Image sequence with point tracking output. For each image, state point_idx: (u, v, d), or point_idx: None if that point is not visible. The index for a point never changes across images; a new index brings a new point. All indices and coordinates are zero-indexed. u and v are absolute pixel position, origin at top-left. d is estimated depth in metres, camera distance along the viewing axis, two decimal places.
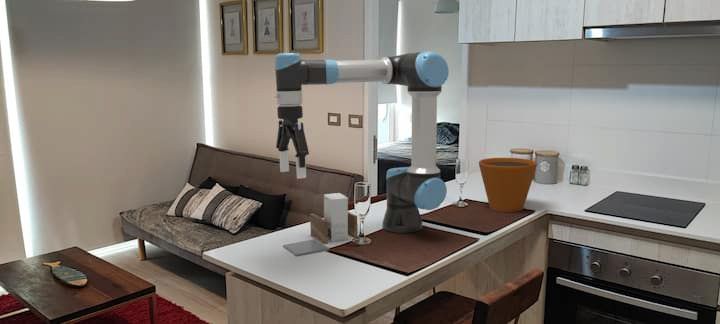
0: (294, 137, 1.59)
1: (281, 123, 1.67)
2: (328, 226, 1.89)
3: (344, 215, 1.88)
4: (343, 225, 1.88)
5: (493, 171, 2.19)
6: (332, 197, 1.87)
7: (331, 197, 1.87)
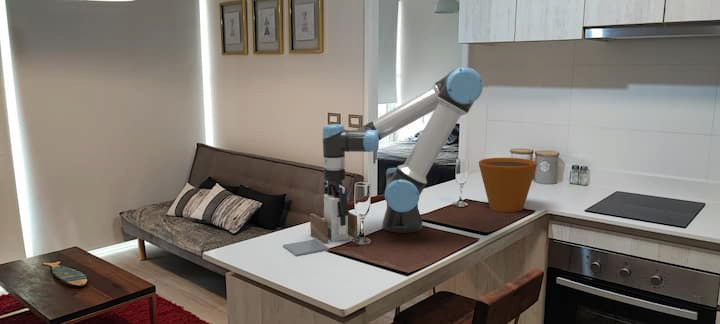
0: None
1: (326, 184, 1.94)
2: (328, 226, 1.89)
3: None
4: None
5: (493, 171, 2.19)
6: (332, 197, 1.87)
7: (331, 197, 1.87)
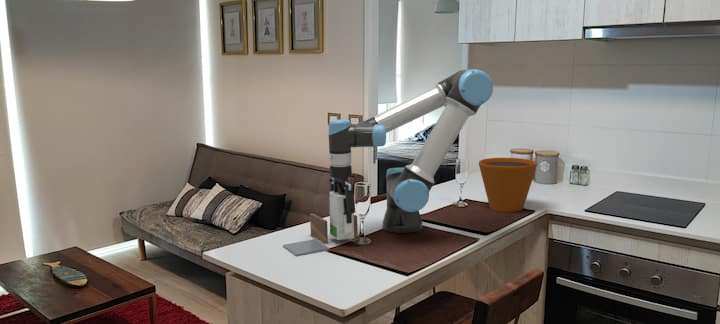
0: None
1: (332, 181, 1.89)
2: (334, 224, 1.85)
3: None
4: None
5: (493, 171, 2.19)
6: (338, 194, 1.83)
7: (337, 194, 1.83)
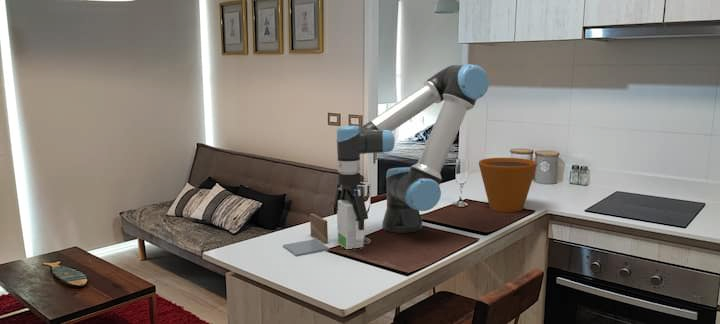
0: (354, 202, 1.76)
1: (339, 186, 1.84)
2: (343, 234, 1.80)
3: None
4: None
5: (493, 171, 2.19)
6: (347, 203, 1.78)
7: (346, 203, 1.78)
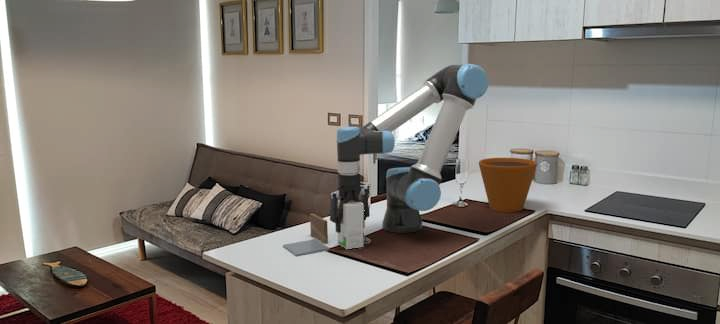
0: (340, 203, 1.80)
1: None
2: None
3: (359, 222, 1.78)
4: (358, 233, 1.79)
5: (493, 171, 2.19)
6: (347, 203, 1.78)
7: (346, 203, 1.78)
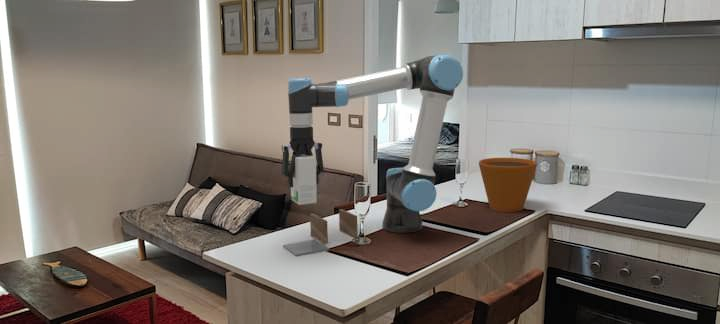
0: (292, 157, 1.76)
1: None
2: None
3: (312, 176, 1.74)
4: (311, 187, 1.75)
5: (493, 171, 2.19)
6: (299, 156, 1.74)
7: None
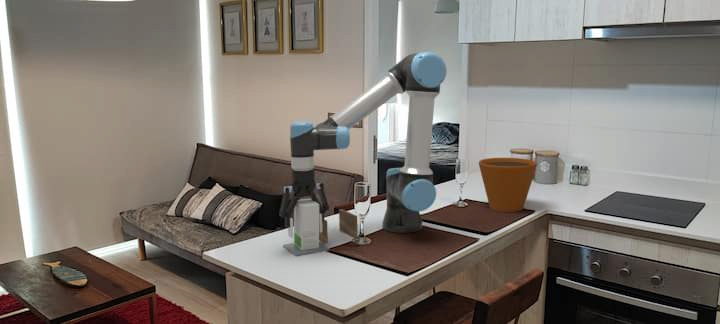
0: (292, 198, 1.77)
1: None
2: (298, 234, 1.78)
3: (315, 222, 1.77)
4: (314, 233, 1.77)
5: (493, 171, 2.19)
6: (302, 203, 1.76)
7: (301, 203, 1.76)
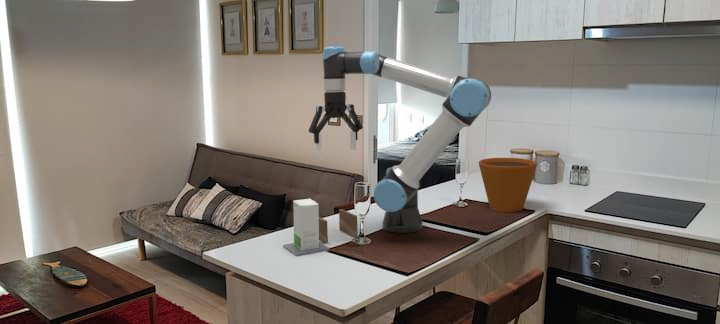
0: (323, 118, 1.89)
1: None
2: (298, 234, 1.78)
3: (315, 222, 1.77)
4: (313, 233, 1.77)
5: (493, 171, 2.19)
6: (302, 203, 1.76)
7: (301, 203, 1.76)
